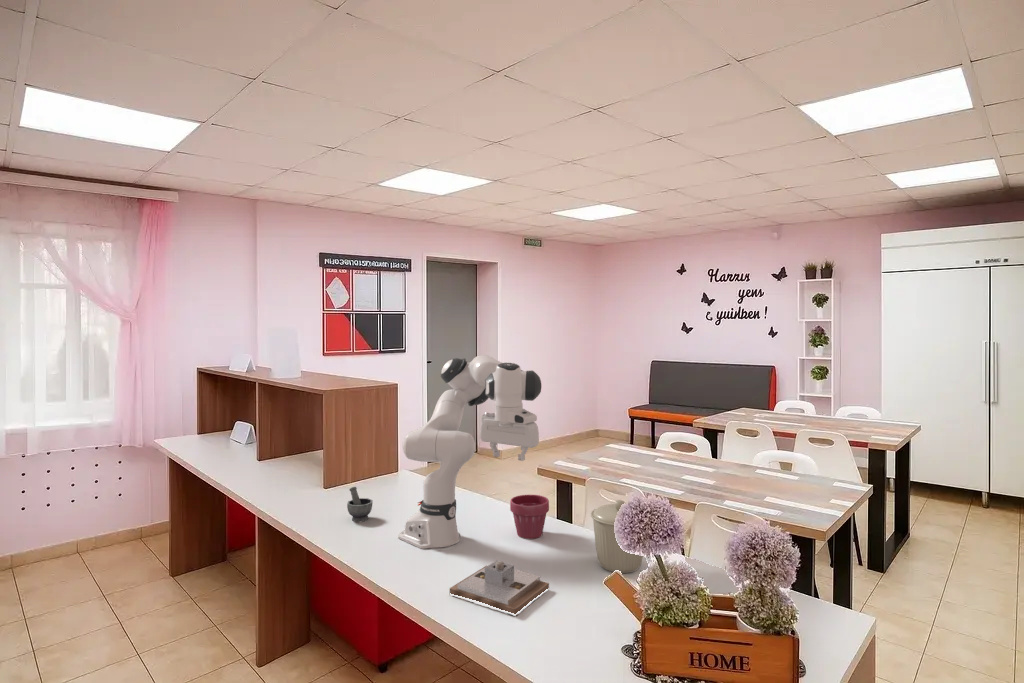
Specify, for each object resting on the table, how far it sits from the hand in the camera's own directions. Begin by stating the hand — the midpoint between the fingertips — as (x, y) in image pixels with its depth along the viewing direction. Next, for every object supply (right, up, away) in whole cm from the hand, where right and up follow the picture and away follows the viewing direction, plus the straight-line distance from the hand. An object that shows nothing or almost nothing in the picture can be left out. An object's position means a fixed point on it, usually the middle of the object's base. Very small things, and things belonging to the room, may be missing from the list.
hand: (508, 458), depth 180 cm
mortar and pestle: (-59, -33, +44) cm, 81 cm away
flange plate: (-3, -33, -18) cm, 37 cm away
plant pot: (+7, -34, +27) cm, 44 cm away
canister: (+35, -34, 0) cm, 49 cm away
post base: (-3, -35, -18) cm, 39 cm away
